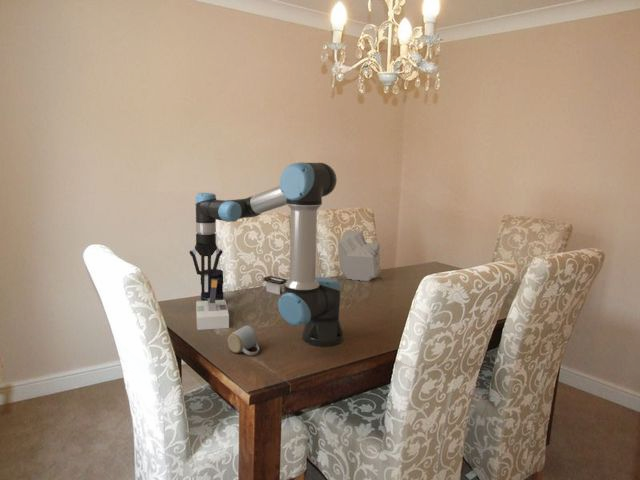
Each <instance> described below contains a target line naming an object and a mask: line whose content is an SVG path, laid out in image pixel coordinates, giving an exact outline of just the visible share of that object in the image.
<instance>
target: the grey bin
mask: <svg viewBox="0 0 640 480" xmlns="http://www.w3.org/2000/svg"><path fill="white" fill-rule="evenodd" d="M262 281H264V282H265V283H266V288H265V289H266V290H265V291H266V292H268V293H272V294H276V295H278V296H279V295H283V294H285V284H286V282H287V281H288V279H287V278H286V279H285V278H282V277H281V278H280V277H277V276H272V275H269V276H268V275H267V276H265V277H262Z"/></svg>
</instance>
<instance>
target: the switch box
mask: <svg viewBox="0 0 640 480" xmlns="http://www.w3.org/2000/svg"><path fill="white" fill-rule="evenodd" d="M209 302H210V298H208V301H201V300H197V301H196V302H195V303H196V304H195V305H196V306H195V308H196V310H195V311H196V313H195V314H196V330H197V331H204V330H219V329H230V314H229V310H228V305H227V302H226V299H223V300H215V303H209Z"/></svg>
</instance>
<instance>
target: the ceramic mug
mask: <svg viewBox="0 0 640 480" xmlns="http://www.w3.org/2000/svg"><path fill="white" fill-rule="evenodd" d="M227 345H228V346H227V347H228V348H229V349H230V351H231V352H233V353H234V354H238V353H244V354H245V355H248V356H250V357H251V356H256V355H258V353H259V352H260V345H259V343H258V334H257V332H256V330H255V329H254V327H252V326H251V325H250V326H249V325H244V326H242V327H240V328H239V329H237V330H234V331H233V332H232V333H230V334H229V335H228V337H227ZM254 347H255V348H256V351H249V349H251V348H254Z"/></svg>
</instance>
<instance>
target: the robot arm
mask: <svg viewBox="0 0 640 480" xmlns="http://www.w3.org/2000/svg"><path fill="white" fill-rule="evenodd" d="M337 181H338V180H337V175H336V172H335V170H334V168H332V167H331V166H330V165H329V164H326V163H323V162H303V161H301V162H295V163H292V164H290V165H288V166H287V167H286V168H285V169H284V170H283V171H282V173H281V175H280V178H279V185H277V186H275V187H272V188H270V189H267V190H265V191H262V192H260V193H257V194H254V195H252V196H248V197H246V198H241V199H240V198H239V199H238V198H237V199H228V200H222V199H217V195H216V194H215V193H212V192H199V193H197V194H196V195H195V232H196V234H195V245H194V248H192V249H190V250H188V251H189V256H191V258H192V260H193V265H194V267H195V268H194V269H195V272H196V274H197V275H200V283H201V282H202V284H204V291H205V292H208V283H211V275H212V274H215V273H216V269H217V268H218V266H219V261H220V258H221V256H222V254H223V249H220V248H219V247H218V245H217V239H216V237H217V234H216V232H217V231H216V230H217V229H216V227H217V225H216V224H217V221H223V222H233V223H234V222H237V221H238V220H240V219H246V218H255V217H258V216H260V215H261V214H263V213H265V212H268V211H272V210H275V209H277V208H282V207H283V206H286V205H287V206H288V207H289V208H290V241H289V242H290V246H289V247H290V253H289V254H290V257H289V279H287V282H286V283H284V293H283V294H281V296H280V297H279V298H278V302H277V303H278V304H277V305H278V306H277V307H278V311H279V314H280V316H281V317H282V318H283V319H284V321H285V322H286V323H288V324H289V325H292V326H296V327H297V326H298V327H299V326H302V325H304V326H303V327H304V328H303V330H302V332H301V333H302V334H301V337H302V339H301V340H303V342H305V343H306V344H308V345H311V346H317V347H333V346H336V345H339V344H341V343H342V342H343V338H344V333H343V329H342V325H341V322H340V304H341V303H340V302H341V292H342V291H341V283H340V281H339V280H338V279H334V278H330V277H324V276H316V266H317V265H316V263H317V262H316V256H317V255H316V254H317V222H318V220H317V217H318V209H320V207H321V206H322V204H323V197H326V196H329V195H330V194H331V193H332V192H333V191H334V189H335V188H336V186H337ZM216 220H217V221H216ZM214 253H216V255H215V258H214V263H213V267H212V256H213V255H214ZM197 254H198V255H199V256H200V267H199V265H198V264H199V263H198V260H197V256H196V255H197ZM205 257H207V269H208V274H205V270H206V269H205V268H206V267H205V265H206V264H205V260H206V259H205ZM200 269H201V270H200ZM211 269H213V270H212V271H211Z"/></svg>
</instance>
